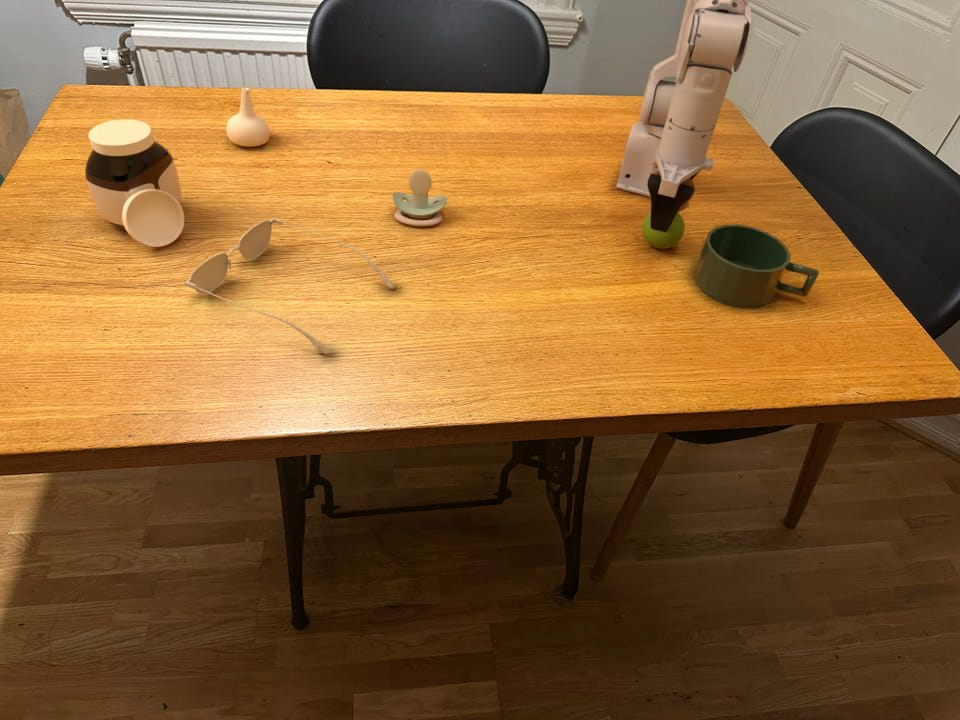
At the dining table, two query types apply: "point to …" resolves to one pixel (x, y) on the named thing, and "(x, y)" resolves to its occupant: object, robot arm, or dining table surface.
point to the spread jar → (134, 182)
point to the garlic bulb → (247, 125)
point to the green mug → (747, 267)
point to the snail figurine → (675, 229)
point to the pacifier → (419, 202)
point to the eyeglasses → (250, 248)
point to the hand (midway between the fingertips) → (662, 219)
